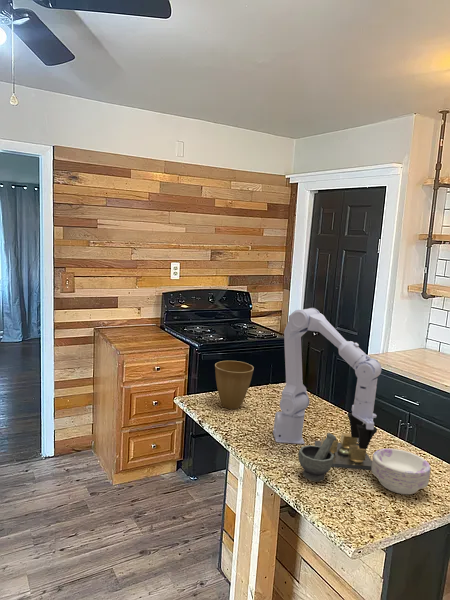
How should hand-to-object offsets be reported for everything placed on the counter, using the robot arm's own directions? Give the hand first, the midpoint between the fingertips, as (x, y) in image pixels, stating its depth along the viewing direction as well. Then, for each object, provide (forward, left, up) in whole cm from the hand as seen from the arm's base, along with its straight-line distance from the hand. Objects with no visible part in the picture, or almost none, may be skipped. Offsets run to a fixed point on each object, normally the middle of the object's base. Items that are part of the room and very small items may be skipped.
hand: (358, 442), depth 141 cm
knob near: (0, 0, -6) cm, 6 cm away
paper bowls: (+8, -11, -7) cm, 16 cm away
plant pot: (-37, +41, -7) cm, 55 cm away
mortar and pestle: (-14, -9, -7) cm, 18 cm away
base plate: (-3, +4, -7) cm, 9 cm away
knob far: (0, +9, -6) cm, 10 cm away
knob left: (-7, +4, -6) cm, 10 cm away
